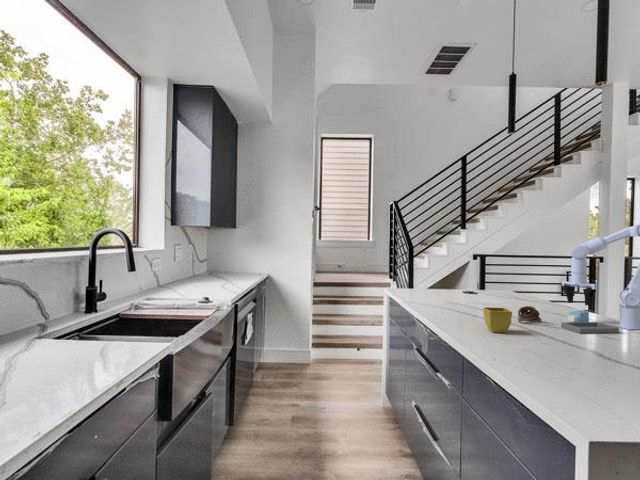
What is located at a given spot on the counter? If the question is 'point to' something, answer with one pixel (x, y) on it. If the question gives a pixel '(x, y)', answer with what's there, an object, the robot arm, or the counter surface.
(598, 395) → the counter surface
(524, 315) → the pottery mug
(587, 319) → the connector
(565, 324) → the tray
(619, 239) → the robot arm
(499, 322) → the flower pot
